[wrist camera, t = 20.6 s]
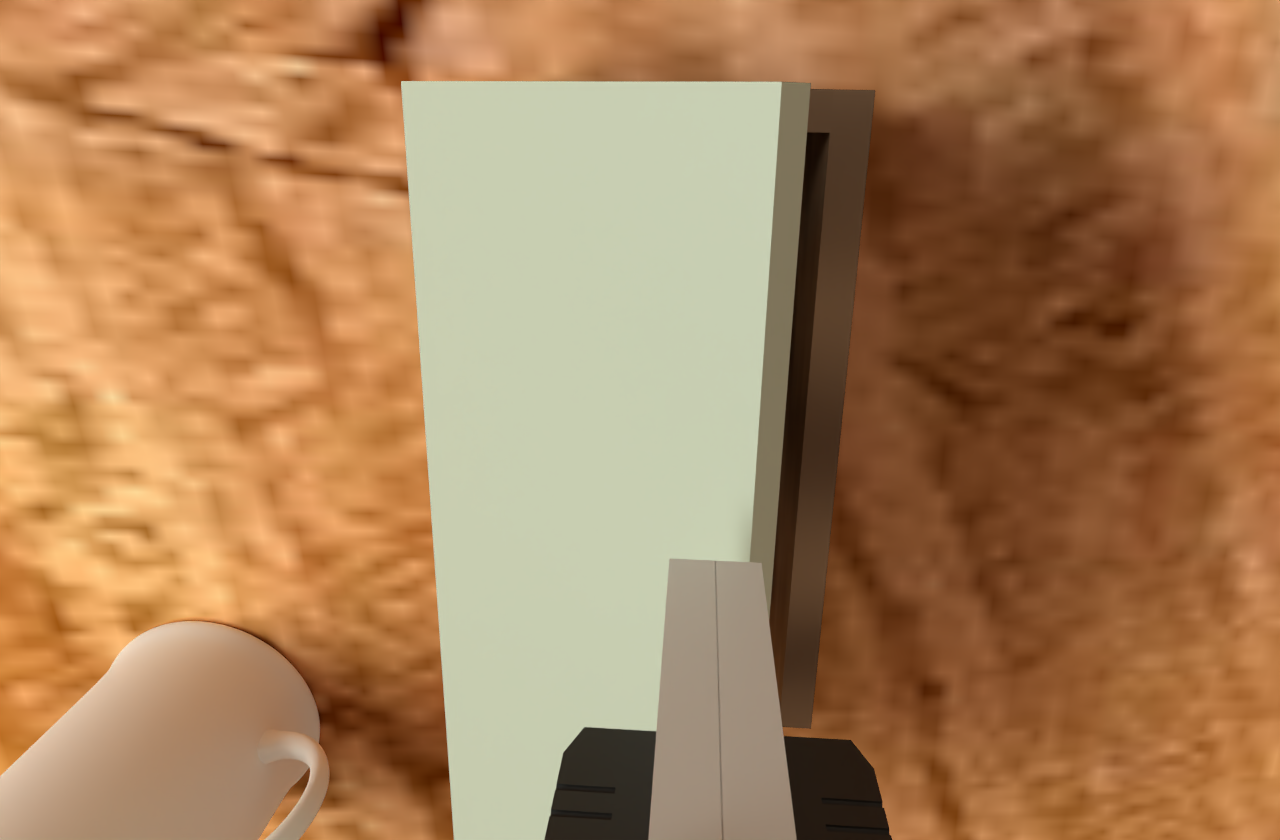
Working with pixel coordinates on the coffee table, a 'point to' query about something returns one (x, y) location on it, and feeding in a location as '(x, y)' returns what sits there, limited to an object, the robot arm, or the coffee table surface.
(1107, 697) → the coffee table surface
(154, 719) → the mug
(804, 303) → the cable box
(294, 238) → the coffee table surface
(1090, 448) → the coffee table surface
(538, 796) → the lid
